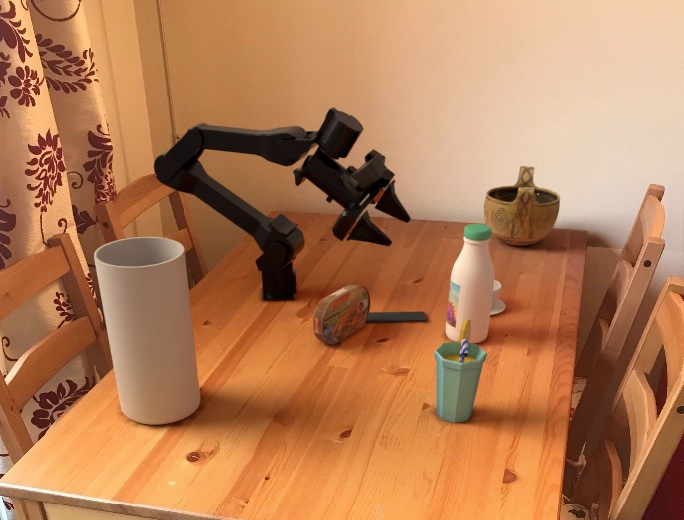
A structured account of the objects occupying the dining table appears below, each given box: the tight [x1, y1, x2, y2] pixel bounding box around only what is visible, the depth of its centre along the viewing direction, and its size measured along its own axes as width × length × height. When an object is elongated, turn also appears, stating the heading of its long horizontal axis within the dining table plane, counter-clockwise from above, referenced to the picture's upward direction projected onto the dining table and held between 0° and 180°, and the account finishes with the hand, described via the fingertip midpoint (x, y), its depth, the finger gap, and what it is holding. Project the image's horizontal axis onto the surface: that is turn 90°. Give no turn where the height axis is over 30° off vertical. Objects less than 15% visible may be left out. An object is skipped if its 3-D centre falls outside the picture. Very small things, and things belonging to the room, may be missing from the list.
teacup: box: [490, 279, 507, 316], centre depth 156 cm, size 10×10×5 cm
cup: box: [433, 320, 488, 424], centre depth 119 cm, size 14×8×15 cm, turn 174°
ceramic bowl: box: [483, 165, 561, 247], centre depth 184 cm, size 22×17×15 cm
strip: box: [365, 311, 427, 324], centre depth 153 cm, size 12×4×1 cm, turn 92°
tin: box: [312, 283, 371, 345], centre depth 145 cm, size 15×3×8 cm, turn 143°
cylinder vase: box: [93, 236, 201, 426], centre depth 119 cm, size 12×12×25 cm
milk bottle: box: [445, 223, 495, 344], centre depth 141 cm, size 8×8×20 cm
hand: (400, 232), depth 147 cm, fingers open, 9 cm apart
